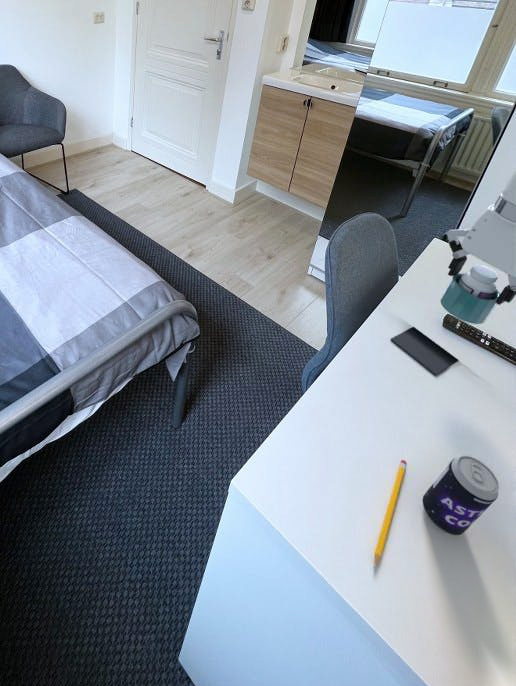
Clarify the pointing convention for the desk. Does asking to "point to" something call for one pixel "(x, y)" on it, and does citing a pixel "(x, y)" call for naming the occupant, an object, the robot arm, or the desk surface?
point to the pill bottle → (479, 281)
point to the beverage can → (460, 494)
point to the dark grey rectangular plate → (424, 350)
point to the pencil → (389, 513)
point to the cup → (467, 303)
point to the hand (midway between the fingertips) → (476, 286)
